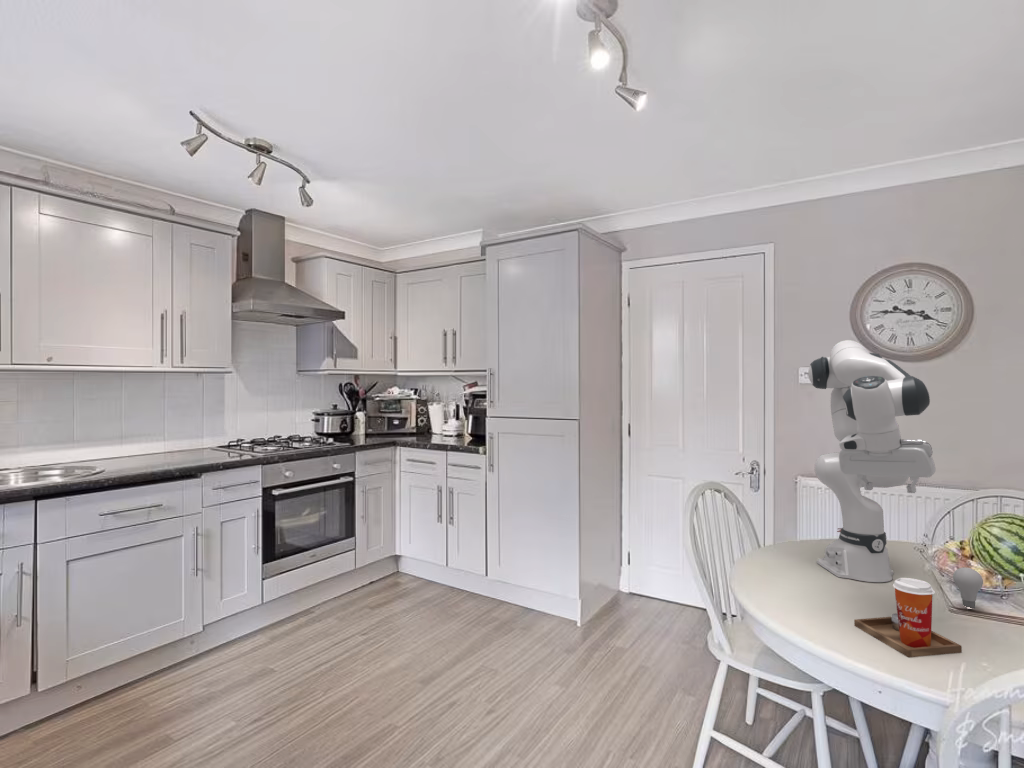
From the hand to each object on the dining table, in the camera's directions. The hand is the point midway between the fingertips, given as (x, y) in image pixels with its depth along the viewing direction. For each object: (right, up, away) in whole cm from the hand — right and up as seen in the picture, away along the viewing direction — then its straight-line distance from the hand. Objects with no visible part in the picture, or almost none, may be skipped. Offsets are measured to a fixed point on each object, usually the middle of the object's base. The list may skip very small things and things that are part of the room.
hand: (889, 490), depth 137 cm
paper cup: (-4, -33, -14) cm, 36 cm away
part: (-2, -33, -6) cm, 33 cm away
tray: (-4, -33, -11) cm, 35 cm away
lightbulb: (+25, -33, +5) cm, 41 cm away
